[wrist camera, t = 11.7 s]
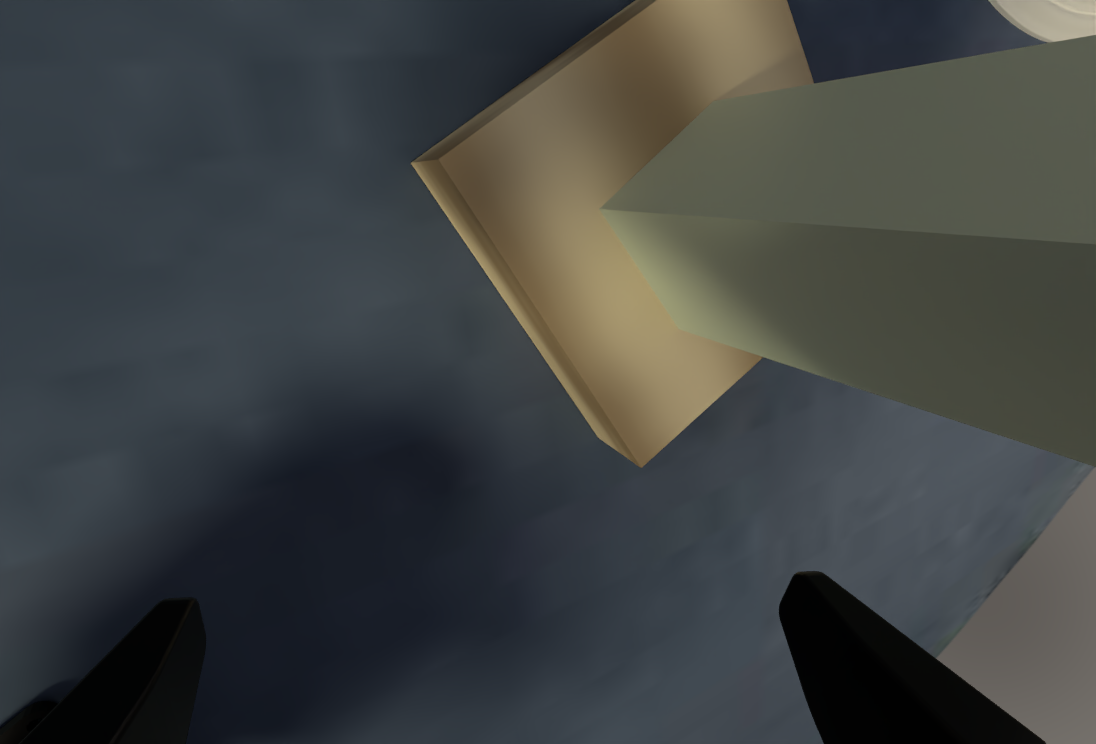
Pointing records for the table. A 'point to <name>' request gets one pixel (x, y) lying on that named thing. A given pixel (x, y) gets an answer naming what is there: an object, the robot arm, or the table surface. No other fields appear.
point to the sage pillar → (896, 236)
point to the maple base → (588, 183)
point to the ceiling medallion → (1050, 17)
